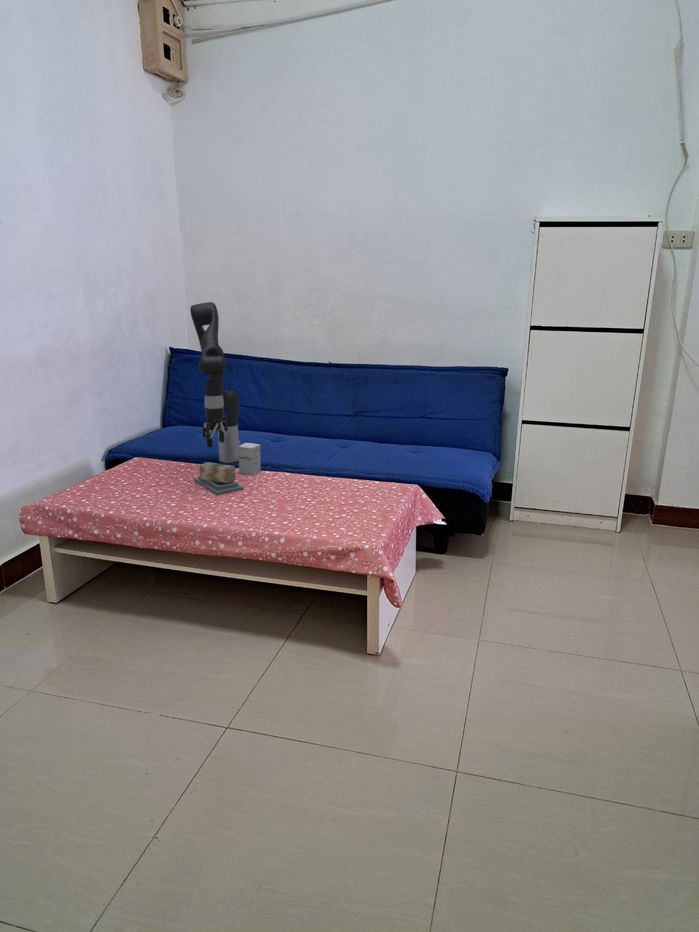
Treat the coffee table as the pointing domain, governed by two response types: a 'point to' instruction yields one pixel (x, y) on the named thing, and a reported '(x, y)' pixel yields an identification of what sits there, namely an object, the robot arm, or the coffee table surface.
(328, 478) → the coffee table surface
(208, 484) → the grey rectangular framed panel
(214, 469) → the oak frame
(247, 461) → the supplement box
